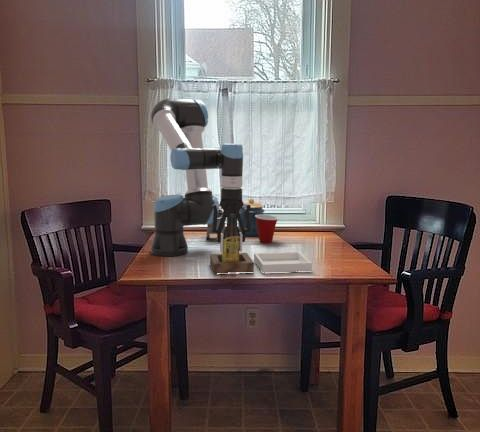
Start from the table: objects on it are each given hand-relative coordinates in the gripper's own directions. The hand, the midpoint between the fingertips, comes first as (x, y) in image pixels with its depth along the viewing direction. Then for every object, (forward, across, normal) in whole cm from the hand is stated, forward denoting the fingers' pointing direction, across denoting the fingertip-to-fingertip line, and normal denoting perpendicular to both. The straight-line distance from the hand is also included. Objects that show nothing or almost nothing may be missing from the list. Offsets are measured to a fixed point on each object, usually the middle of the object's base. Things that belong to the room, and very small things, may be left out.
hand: (231, 250), depth 166 cm
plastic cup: (+7, +22, +40) cm, 46 cm away
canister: (+7, +18, +57) cm, 60 cm away
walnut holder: (+7, 0, 0) cm, 7 cm away
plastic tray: (+7, +19, 0) cm, 20 cm away
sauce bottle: (+6, 0, 0) cm, 6 cm away
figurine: (+7, 0, +49) cm, 49 cm away
